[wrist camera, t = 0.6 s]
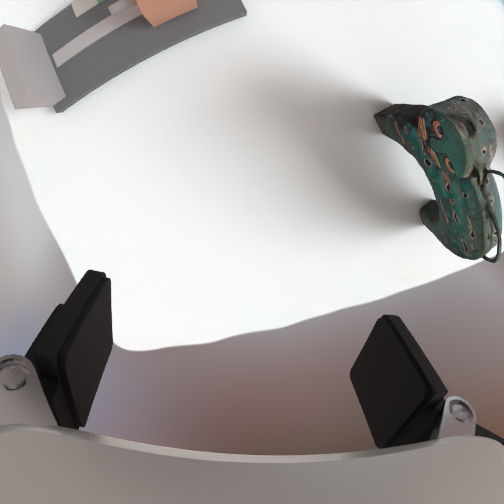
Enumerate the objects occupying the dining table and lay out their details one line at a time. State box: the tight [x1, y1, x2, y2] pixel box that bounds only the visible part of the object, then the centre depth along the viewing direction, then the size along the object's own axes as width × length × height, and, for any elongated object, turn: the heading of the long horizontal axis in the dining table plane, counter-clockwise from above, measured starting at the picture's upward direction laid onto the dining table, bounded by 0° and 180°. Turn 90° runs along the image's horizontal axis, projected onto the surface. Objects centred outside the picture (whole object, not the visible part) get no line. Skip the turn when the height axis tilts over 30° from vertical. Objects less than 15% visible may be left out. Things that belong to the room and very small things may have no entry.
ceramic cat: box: [374, 96, 504, 263], centre depth 28 cm, size 20×6×20 cm, turn 33°
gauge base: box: [0, 0, 247, 113], centre depth 22 cm, size 24×12×10 cm, turn 113°
